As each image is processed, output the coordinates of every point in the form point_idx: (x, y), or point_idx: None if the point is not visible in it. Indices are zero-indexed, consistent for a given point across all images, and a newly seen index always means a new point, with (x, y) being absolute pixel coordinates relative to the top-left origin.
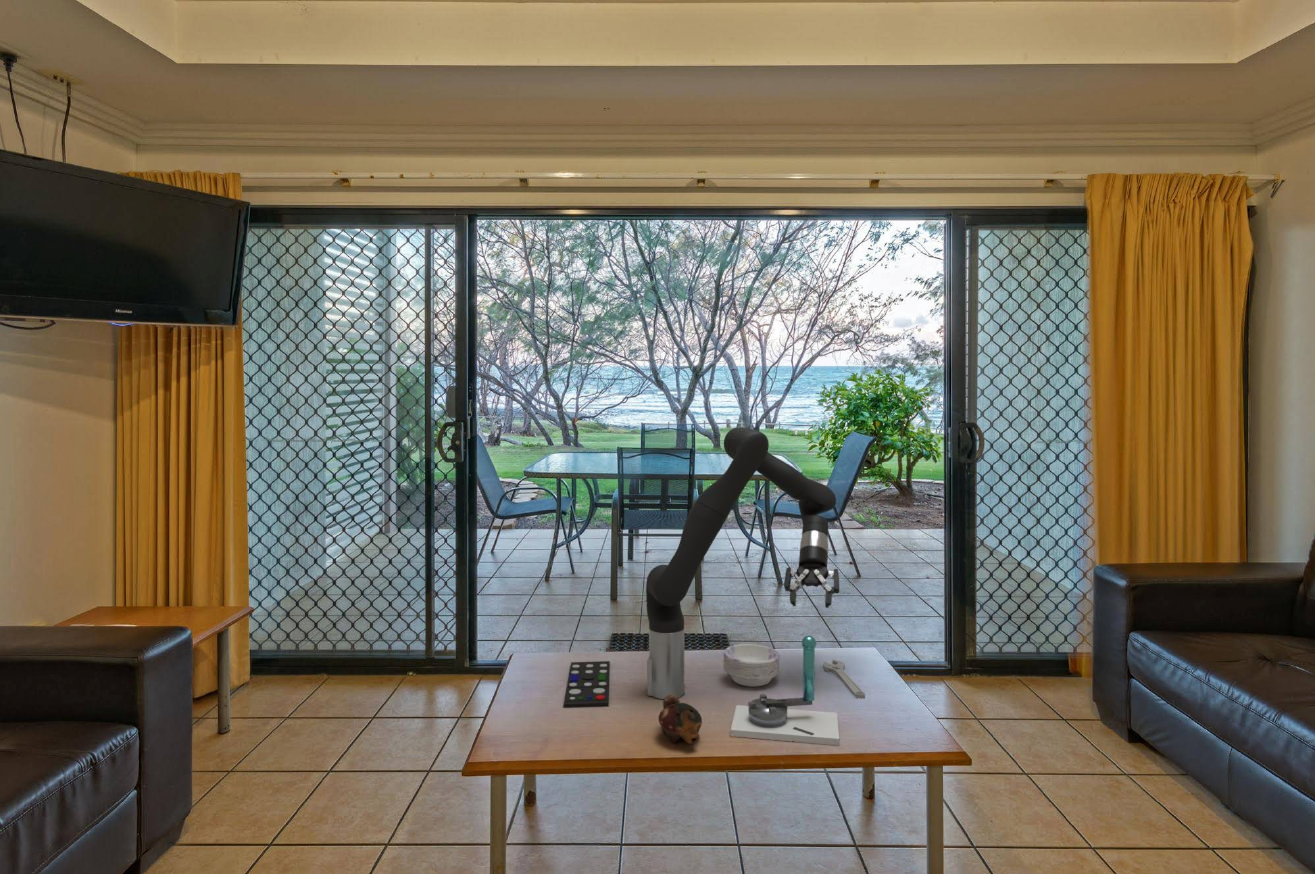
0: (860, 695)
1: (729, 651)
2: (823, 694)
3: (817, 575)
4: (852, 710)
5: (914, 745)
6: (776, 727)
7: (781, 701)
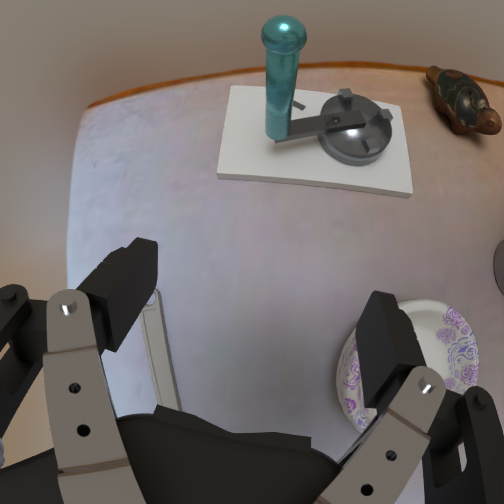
0: None
1: (465, 382)
2: (229, 304)
3: (114, 463)
4: (179, 222)
5: (121, 112)
6: None
7: (333, 117)
